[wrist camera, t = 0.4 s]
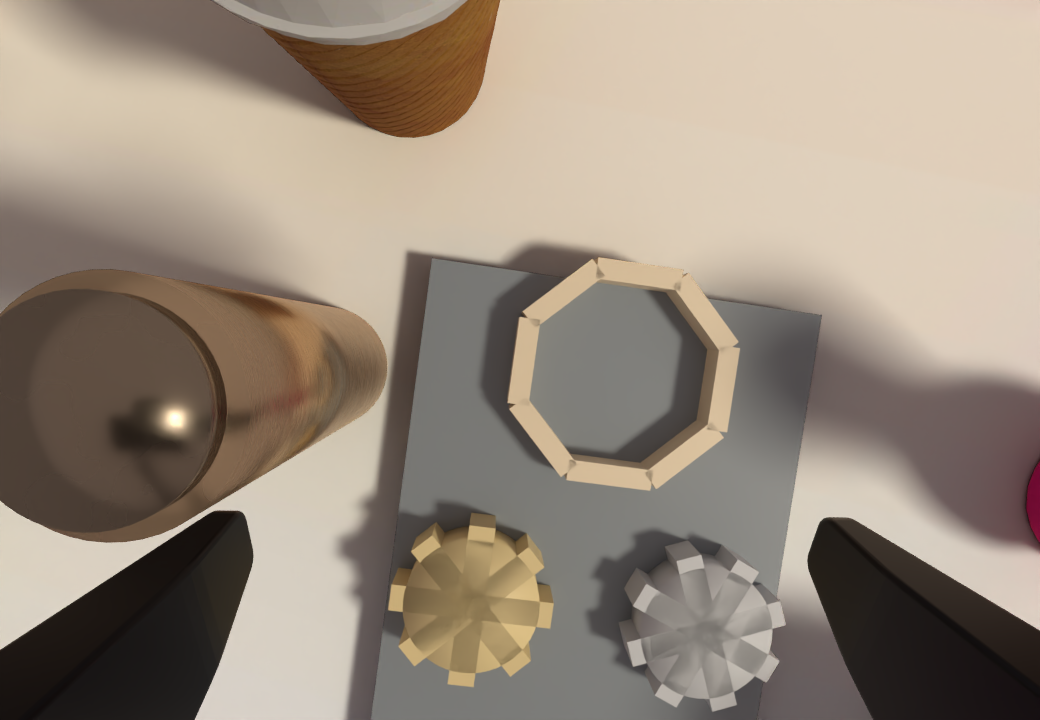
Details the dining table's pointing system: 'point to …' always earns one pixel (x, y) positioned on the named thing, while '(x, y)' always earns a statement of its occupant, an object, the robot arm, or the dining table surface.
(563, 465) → the gear board
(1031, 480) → the pepper mill
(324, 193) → the dining table surface
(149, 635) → the robot arm
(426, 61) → the disposable coffee cup
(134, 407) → the metal can
